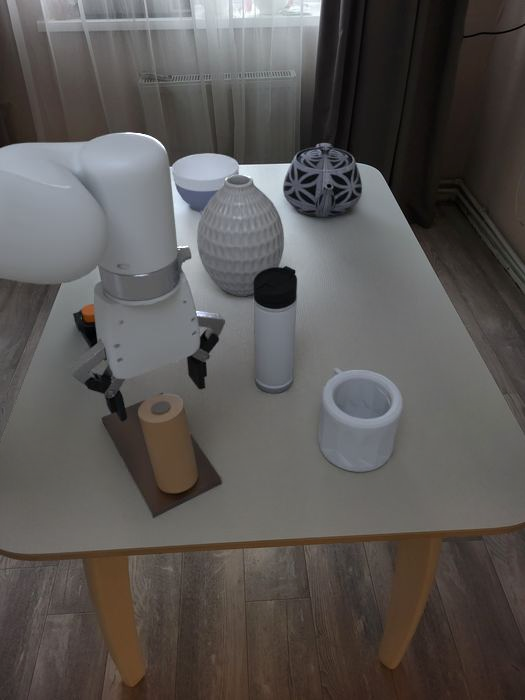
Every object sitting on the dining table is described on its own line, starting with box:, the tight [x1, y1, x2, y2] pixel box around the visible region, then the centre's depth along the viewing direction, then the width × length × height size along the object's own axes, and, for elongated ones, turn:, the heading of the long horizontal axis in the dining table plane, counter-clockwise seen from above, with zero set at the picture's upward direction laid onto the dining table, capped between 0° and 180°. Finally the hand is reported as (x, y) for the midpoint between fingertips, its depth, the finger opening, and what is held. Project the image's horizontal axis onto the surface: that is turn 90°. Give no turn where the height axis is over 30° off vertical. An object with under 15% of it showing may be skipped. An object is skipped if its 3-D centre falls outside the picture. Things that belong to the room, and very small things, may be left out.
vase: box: [196, 174, 285, 297], centre depth 104 cm, size 16×16×22 cm
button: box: [81, 303, 95, 322], centre depth 97 cm, size 3×3×2 cm
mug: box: [317, 367, 404, 473], centre depth 78 cm, size 14×11×10 cm
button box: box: [72, 308, 98, 349], centre depth 100 cm, size 11×10×4 cm
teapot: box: [282, 142, 363, 218], centre depth 132 cm, size 19×31×15 cm, turn 179°
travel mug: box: [252, 265, 298, 394], centre depth 84 cm, size 6×7×20 cm
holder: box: [101, 392, 222, 519], centre depth 79 cm, size 10×19×1 cm, turn 32°
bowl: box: [171, 153, 240, 213], centre depth 135 cm, size 16×16×10 cm
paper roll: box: [138, 393, 198, 493], centre depth 71 cm, size 6×12×6 cm
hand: (159, 397), depth 64 cm, fingers open, 9 cm apart
